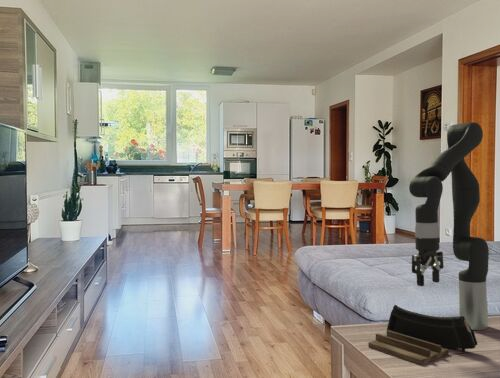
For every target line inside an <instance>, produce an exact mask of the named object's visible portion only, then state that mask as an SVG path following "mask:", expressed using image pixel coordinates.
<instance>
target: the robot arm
mask: <svg viewBox="0 0 500 378" xmlns="http://www.w3.org/2000/svg"><path fill="white" fill-rule="evenodd" d="M446 131H447V133H446V143H447V149H446V150H443V151H442V152H440V153H439V154H438V155H437V156H436V157H435V158H434V159H433V160H432V161H431V163H430V164H429V165H428V167H426V168H424V169H422V170H421V171H420V172H419V173H418V174H416V175H414V177H412V179H411V180H410V181H409V182H410V183H409V186H408V187H409V193H410V194H411V196H413V197H414V198H426V201H425V203H423V204H419V205H417V206H416V207H415V210H414V211H415V228H414V234H415V235H414V238H415V240H414V241H415V249H416V250H417V251H418V253H417V254H412V255H411V274H415V275H416V284H417V286H418V287H424V286H425V271H427V270H428V268H429V267H430V268H431V270H432V271H431V272H432V274H431V275H432V276H431V277H432V278H431V279H432V282H433V283H440V272H441V270H443V269H444V268H445V267H444V253H443V251H440V228H439V227H440V226H439V215H438V210H439V206H440V202H441V198H442V195H443V190H444V187H443V186H444V185H443V182H444V181H445V180H446V179H447V177H448V176H449V175H451V195H452V207H453V211H452V212H453V214H452V215H453V230H452V232H453V233H452V234H453V235H452V252H453V255H454V257H455V258H456V259H458V260H460V261H464V262H468V268H466V269H464V270H461V271H459V272H458V301H459V302H458V304H459V305H458V306H459V317H460V316H464V318H465V320H466V322H467V323H468V325H469V326H470V328H471V329H472V330H473V331H484V330H487V329H488V326H489V311H488V310H489V309H488V299H487V296H488V295H487V294H488V293H487V276H488V273H489V256H490V255H489V254H490V253H489V245H488V243H487V241H486V240H485V239H484V238H482V237H477V236H476V237H475V236H471V233H470V231H471V230H470V229H471V228H470V227H471V221H472V219H473V216H474V215H475V213H476V211H477V209H478V207H479V205H480V201H481V200H480V199H481V195H480V194H481V193H480V183H479V180H478V179H477V177H476V175H475V174H474V173H473V172H472V170H471V169H470V168H469V166H468V164H467V162H466V160H465V158H466V156H468V155H469V154H471V152H473V150H474V149H476V148H477V147H478V146H479V145H480V144H481V143H482V140H483V137H484V133H483V132H484V131H483V129H482V126H481V125H480V124H479V123H478V122H473V121H472V122H464V123H455V124H452V125H450V126H449V127H448V128H447V130H446Z"/></svg>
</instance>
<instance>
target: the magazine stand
mask: <svg viewBox="0 0 500 378" xmlns="http://www.w3.org/2000/svg"><path fill="white" fill-rule="evenodd" d="M367 344H368V348H370V347H371V348H370V349H373V348H374V349H373V350H376V349H377V351H379V352H382V353H384V354H385V353H386V354H388V355H391V356H394V357H396V358H399V359H402V360H405V361H408V362H411V363H415V364H416V365H420V366H423V365H425V364H427V363H431V362H433V361H435V360H439V359H440V358H442V357H446V356H447V355H449V348H446V347H441V345H437V344H434V343H430V342H427V341H424V340H420V339H417V338H414V337H410V336H407V335H403V334H400V333H397V332H393V331H390V330H387V329H386V335H384V334H381V333H375V340H371V341H368V343H367Z"/></svg>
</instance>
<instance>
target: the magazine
mask: <svg viewBox="0 0 500 378" xmlns="http://www.w3.org/2000/svg"><path fill="white" fill-rule="evenodd" d="M387 330H390V331H393V332H397V333H400V334H403V335H407V336H410V337H414V338H417V339H420V340H424V341H427V342H430V343H434V344H437V345H441V347H442V348H445V349H456V350H457V349H458V350H461V351H462V352H463V353H465V352H466V350H473V349H475V348H476V346H478V341H477V337H476V335H475V330H472V329H471V328H470V326H469V325H468V323H467V322H466V320H465V318H464V316H460V315H459V317H455V316H453V317H443V316H435V315H433V316H432V315H427V314H422V313H418V312H414V311H410V310H407V309H405V308H402V307H400V306H398V305H396V304H394V306H392V310H391V312H390V315H389V319H388V323H387V328H386V331H387Z"/></svg>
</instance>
